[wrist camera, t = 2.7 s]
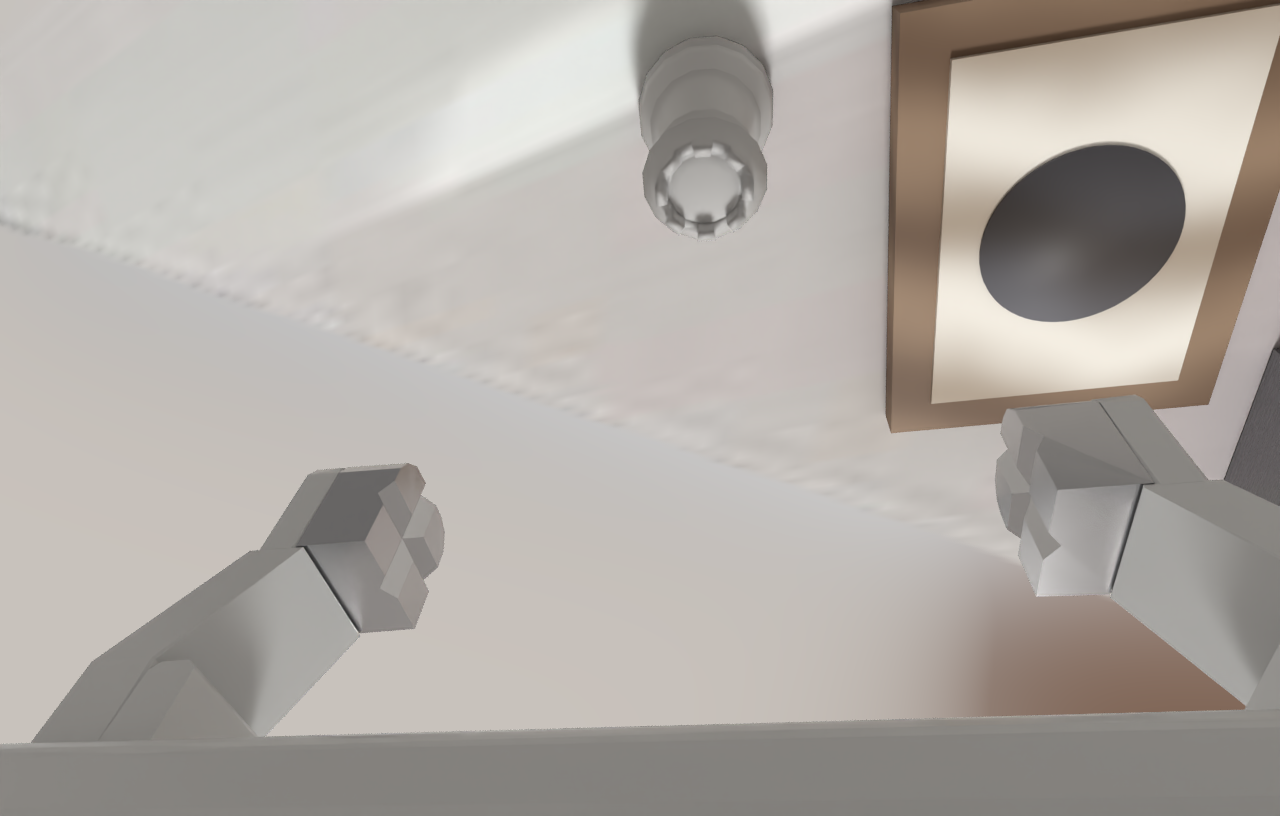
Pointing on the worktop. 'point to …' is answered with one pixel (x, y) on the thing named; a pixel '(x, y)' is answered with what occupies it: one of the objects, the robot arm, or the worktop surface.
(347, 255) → the worktop surface
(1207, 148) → the board
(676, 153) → the rook chess piece
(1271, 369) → the button housing
